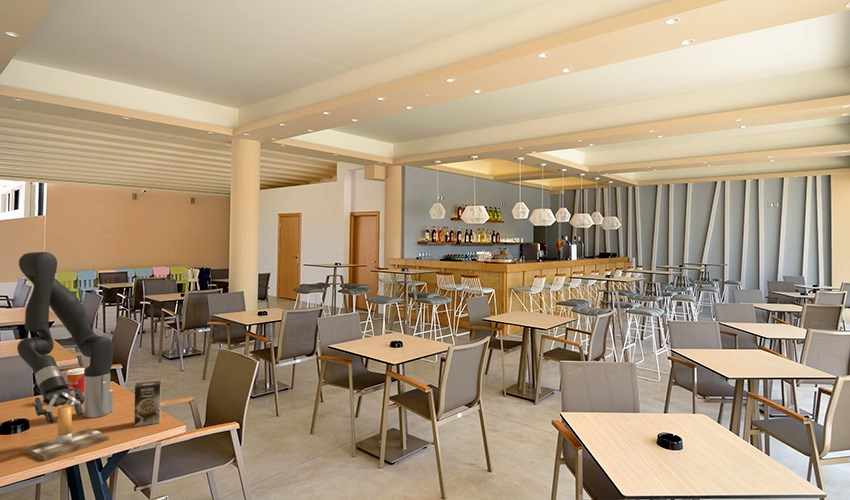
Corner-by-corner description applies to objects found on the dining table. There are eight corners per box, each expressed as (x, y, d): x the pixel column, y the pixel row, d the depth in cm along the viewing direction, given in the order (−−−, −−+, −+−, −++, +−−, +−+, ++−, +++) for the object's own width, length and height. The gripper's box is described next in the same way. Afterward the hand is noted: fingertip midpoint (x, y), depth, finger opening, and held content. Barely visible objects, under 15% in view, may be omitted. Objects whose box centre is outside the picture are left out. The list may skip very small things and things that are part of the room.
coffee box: (134, 427, 188) (133, 386, 187) (135, 421, 193) (135, 382, 193) (160, 423, 192) (160, 383, 192) (160, 418, 198) (160, 379, 197)
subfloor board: (88, 432, 183) (88, 427, 183) (108, 439, 176) (108, 434, 176) (25, 451, 165) (25, 446, 165) (44, 461, 158) (44, 455, 158)
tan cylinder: (68, 438, 172) (68, 405, 172) (74, 440, 170) (73, 407, 170) (55, 442, 169) (55, 409, 169) (61, 445, 167) (60, 411, 167)
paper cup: (62, 401, 218) (62, 371, 217) (80, 396, 225) (79, 367, 225) (73, 403, 215) (73, 372, 214) (90, 398, 222) (90, 368, 222)
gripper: (30, 380, 167) (46, 418, 161) (76, 371, 179) (92, 406, 174) (23, 393, 169) (39, 431, 164) (69, 382, 182) (85, 418, 176)
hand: (66, 418), depth 169 cm, fingers open, 8 cm apart
